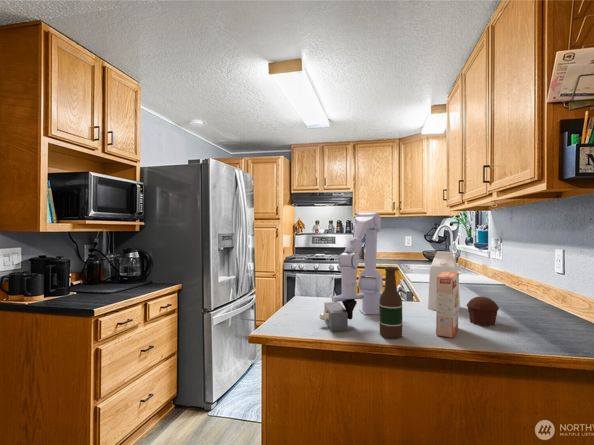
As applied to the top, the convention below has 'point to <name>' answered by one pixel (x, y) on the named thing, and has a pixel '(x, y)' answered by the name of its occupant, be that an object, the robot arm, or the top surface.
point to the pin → (324, 316)
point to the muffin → (482, 311)
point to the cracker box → (447, 304)
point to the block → (336, 317)
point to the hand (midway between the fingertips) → (349, 318)
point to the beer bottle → (390, 308)
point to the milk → (438, 266)
